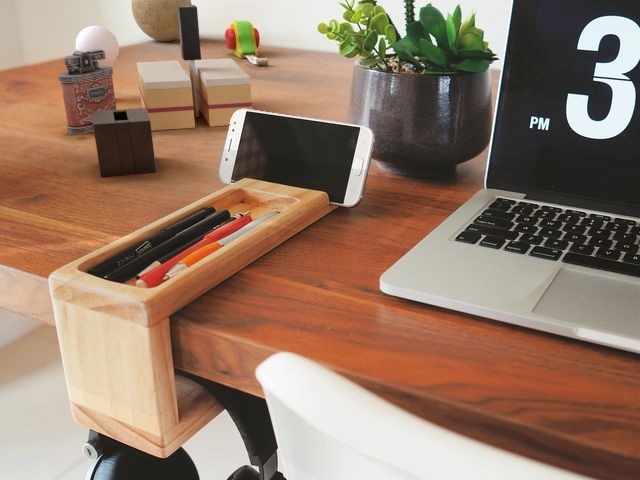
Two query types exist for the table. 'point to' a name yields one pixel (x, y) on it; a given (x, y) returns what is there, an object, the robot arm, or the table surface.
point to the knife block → (124, 142)
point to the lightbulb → (99, 43)
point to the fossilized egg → (158, 17)
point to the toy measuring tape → (244, 42)
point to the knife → (190, 44)
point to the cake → (176, 93)
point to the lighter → (86, 89)
